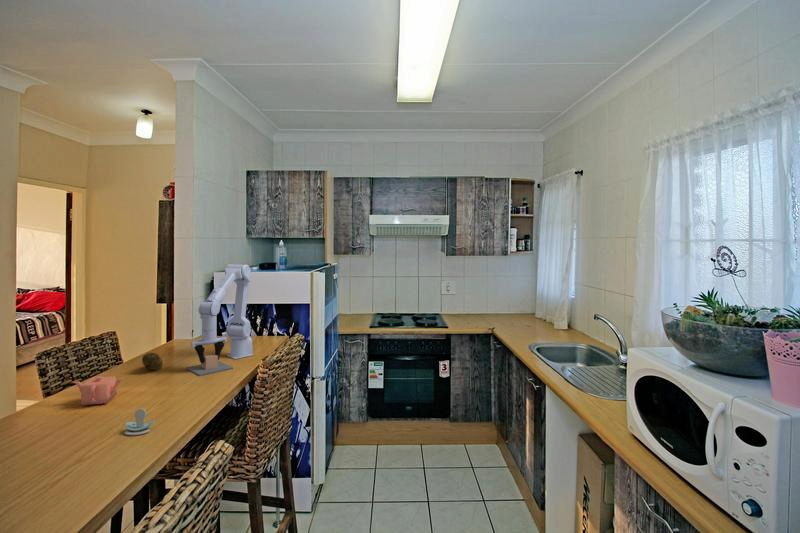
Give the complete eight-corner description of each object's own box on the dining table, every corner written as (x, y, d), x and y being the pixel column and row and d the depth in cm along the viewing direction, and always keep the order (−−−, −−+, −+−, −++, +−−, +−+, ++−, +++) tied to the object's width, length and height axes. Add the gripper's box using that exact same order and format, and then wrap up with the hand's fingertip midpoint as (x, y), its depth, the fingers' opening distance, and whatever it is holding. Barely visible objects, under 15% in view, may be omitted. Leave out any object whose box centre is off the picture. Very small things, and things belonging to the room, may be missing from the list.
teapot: (118, 406, 134) (118, 381, 134) (64, 410, 130) (63, 384, 129) (130, 393, 146) (130, 370, 145) (81, 397, 141) (80, 373, 141)
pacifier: (147, 436, 114) (157, 426, 120) (146, 415, 114) (156, 405, 119) (119, 437, 113) (130, 427, 119) (118, 416, 113) (129, 406, 118)
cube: (212, 364, 179) (212, 353, 178) (217, 367, 175) (217, 355, 175) (200, 367, 175) (201, 355, 175) (205, 369, 172) (206, 357, 171)
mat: (218, 362, 185) (218, 360, 185) (233, 368, 176) (233, 367, 175) (185, 368, 174) (185, 367, 174) (199, 376, 165) (199, 374, 165)
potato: (170, 365, 179) (170, 347, 179) (156, 374, 166) (155, 355, 166) (150, 365, 178) (150, 347, 178) (134, 374, 165) (134, 355, 165)
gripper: (221, 325, 182) (222, 355, 183) (187, 330, 171) (187, 362, 172) (229, 328, 177) (229, 359, 178) (194, 333, 167) (194, 365, 167)
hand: (209, 360), depth 175 cm, fingers open, 6 cm apart
